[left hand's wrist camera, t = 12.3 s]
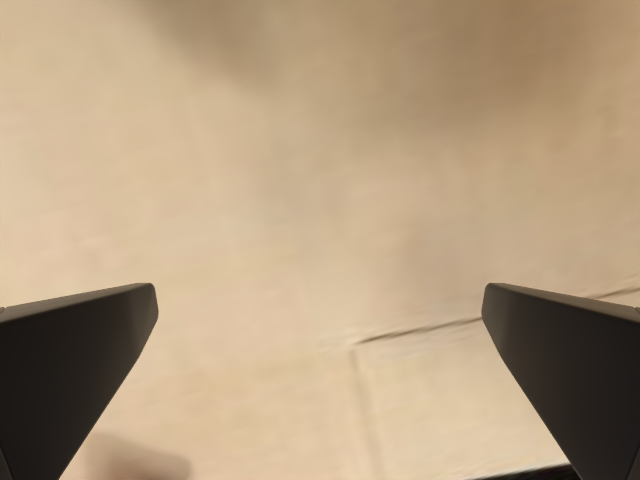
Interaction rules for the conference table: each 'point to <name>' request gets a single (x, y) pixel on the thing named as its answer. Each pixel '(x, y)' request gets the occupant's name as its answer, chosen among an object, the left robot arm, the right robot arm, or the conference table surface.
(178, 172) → the conference table surface
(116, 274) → the conference table surface
